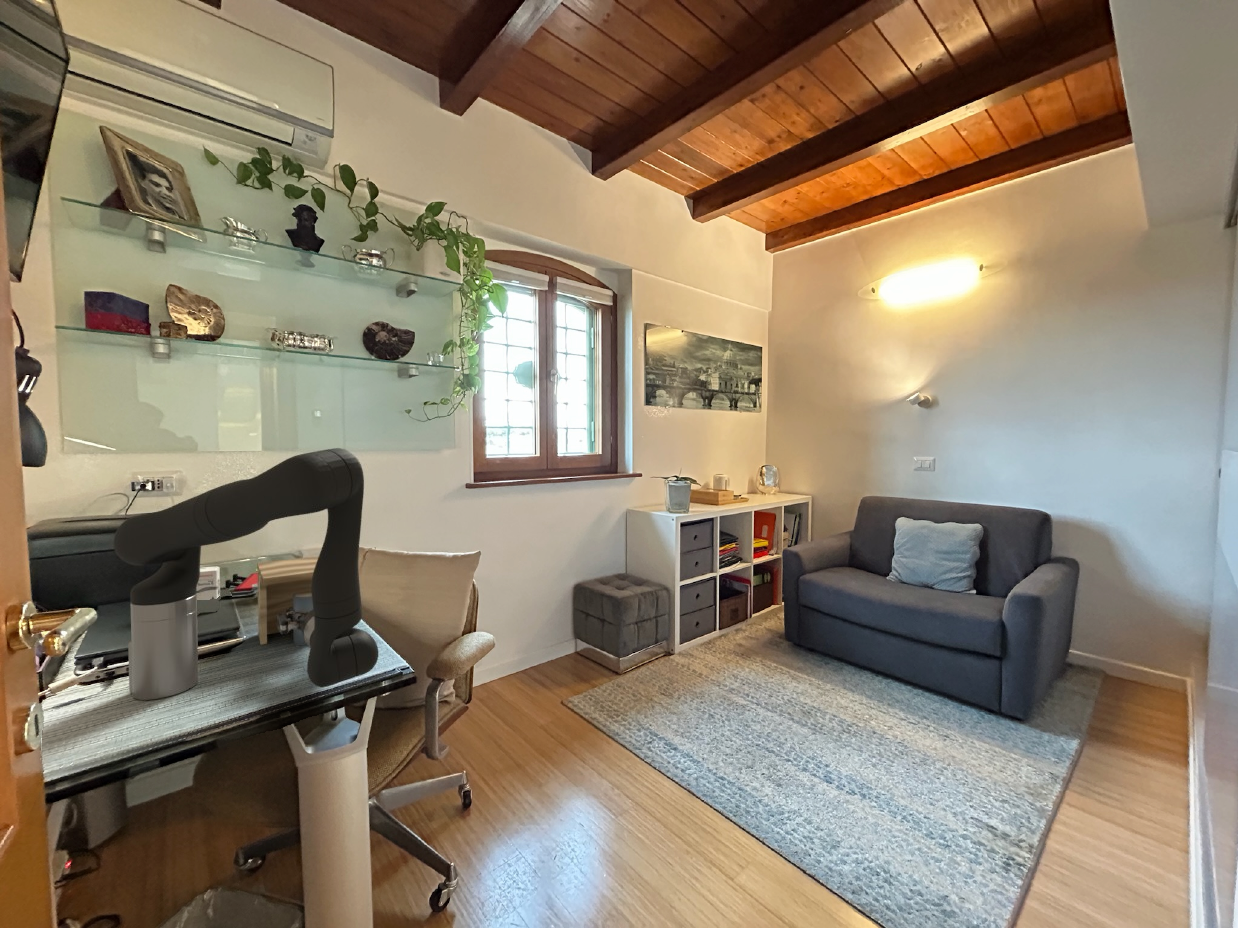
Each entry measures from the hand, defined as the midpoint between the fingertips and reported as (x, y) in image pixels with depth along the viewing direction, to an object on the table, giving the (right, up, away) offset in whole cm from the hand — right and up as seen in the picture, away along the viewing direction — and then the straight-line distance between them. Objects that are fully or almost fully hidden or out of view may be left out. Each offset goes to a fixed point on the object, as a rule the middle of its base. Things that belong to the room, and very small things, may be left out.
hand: (313, 608), depth 112 cm
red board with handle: (-51, -8, +53) cm, 75 cm away
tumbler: (-6, -10, +8) cm, 14 cm away
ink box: (-47, -9, +27) cm, 55 cm away
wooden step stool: (-8, -10, +10) cm, 16 cm away
